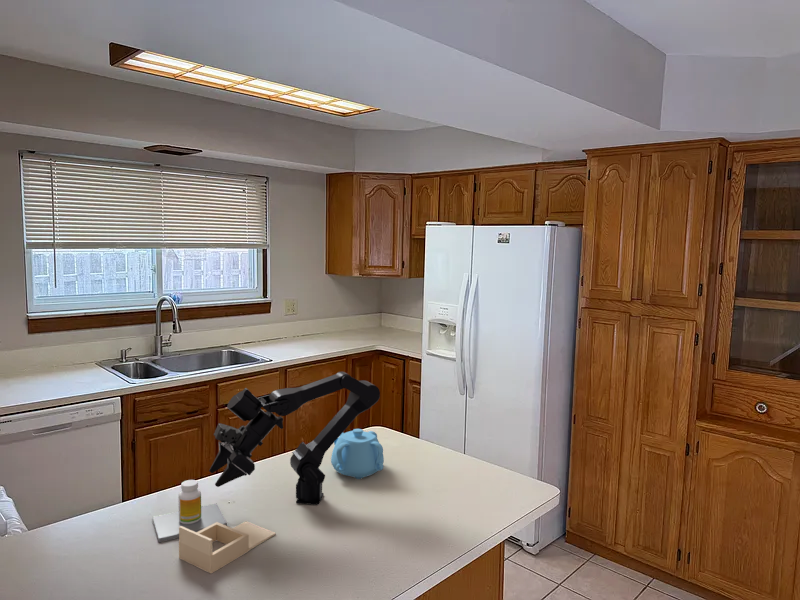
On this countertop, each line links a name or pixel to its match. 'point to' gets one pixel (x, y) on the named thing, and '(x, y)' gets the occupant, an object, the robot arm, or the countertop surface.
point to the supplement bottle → (189, 502)
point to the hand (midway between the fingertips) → (213, 478)
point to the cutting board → (170, 524)
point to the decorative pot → (357, 454)
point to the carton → (237, 541)
